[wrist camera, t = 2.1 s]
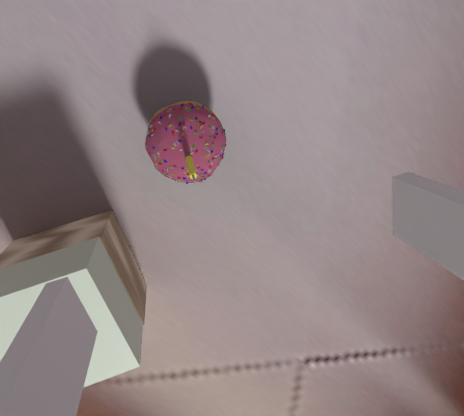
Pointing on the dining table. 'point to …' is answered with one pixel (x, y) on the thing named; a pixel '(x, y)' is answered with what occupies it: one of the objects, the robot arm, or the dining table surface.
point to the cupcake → (185, 141)
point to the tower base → (81, 232)
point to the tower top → (90, 294)
